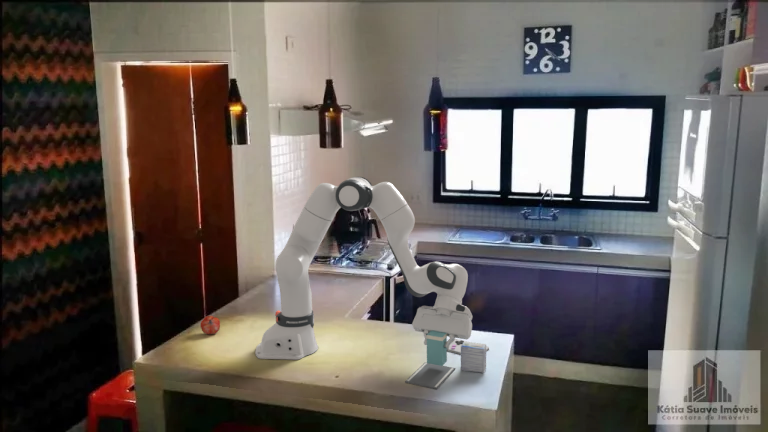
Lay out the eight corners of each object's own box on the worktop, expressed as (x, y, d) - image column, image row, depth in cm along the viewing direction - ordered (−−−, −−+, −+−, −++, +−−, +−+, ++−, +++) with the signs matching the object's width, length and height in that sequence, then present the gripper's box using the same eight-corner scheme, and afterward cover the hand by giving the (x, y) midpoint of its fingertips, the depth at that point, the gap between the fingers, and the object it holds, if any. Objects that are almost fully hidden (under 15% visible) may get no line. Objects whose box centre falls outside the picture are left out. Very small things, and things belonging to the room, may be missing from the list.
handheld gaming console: (453, 337, 228) (489, 346, 220) (453, 341, 229) (489, 350, 220) (439, 346, 221) (476, 355, 212) (439, 350, 221) (476, 359, 212)
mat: (437, 389, 190) (437, 387, 190) (405, 382, 195) (405, 381, 195) (455, 369, 204) (455, 367, 204) (425, 363, 209) (425, 362, 209)
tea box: (442, 366, 200) (442, 337, 198) (426, 363, 203) (426, 334, 201) (446, 361, 204) (446, 333, 202) (431, 358, 206) (431, 330, 204)
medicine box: (486, 368, 204) (486, 343, 203) (484, 373, 200) (484, 348, 199) (463, 365, 207) (463, 341, 205) (460, 370, 203) (460, 346, 201)
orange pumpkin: (200, 337, 241) (197, 330, 233) (203, 319, 245) (200, 311, 236) (220, 338, 242) (216, 331, 233) (222, 320, 246) (219, 312, 237)
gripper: (416, 300, 211) (404, 337, 204) (472, 308, 201) (462, 347, 195) (421, 309, 215) (410, 345, 209) (477, 317, 206) (467, 355, 199)
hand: (436, 346), depth 202 cm, fingers closed on tea box, 5 cm apart
